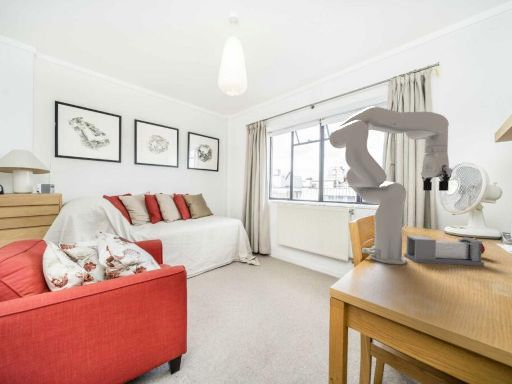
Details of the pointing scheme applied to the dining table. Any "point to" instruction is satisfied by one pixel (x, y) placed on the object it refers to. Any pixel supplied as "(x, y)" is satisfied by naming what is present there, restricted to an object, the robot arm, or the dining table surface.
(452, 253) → the grey rectangular block
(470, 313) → the dining table surface
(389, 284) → the dining table surface
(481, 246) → the onion
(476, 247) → the socket
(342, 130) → the robot arm
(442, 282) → the dining table surface
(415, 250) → the board
